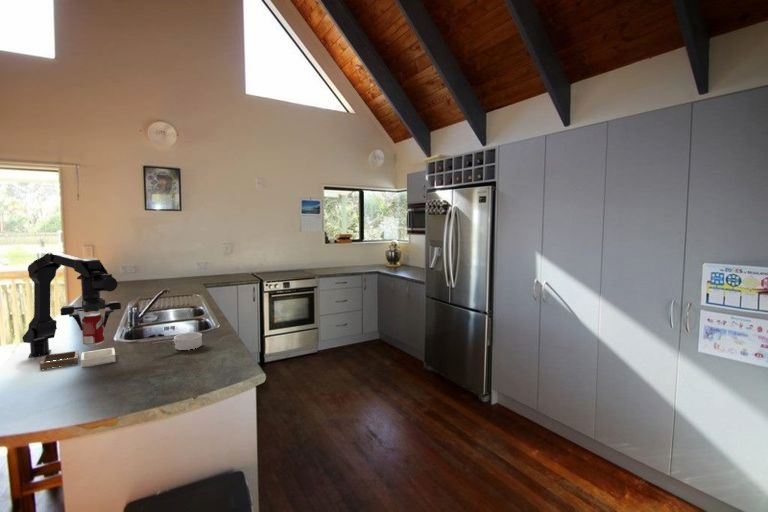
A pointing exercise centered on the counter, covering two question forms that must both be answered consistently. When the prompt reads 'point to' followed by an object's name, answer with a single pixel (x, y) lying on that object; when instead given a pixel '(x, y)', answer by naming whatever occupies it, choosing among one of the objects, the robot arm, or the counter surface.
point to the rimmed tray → (97, 357)
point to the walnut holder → (57, 357)
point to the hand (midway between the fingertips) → (93, 328)
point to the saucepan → (185, 341)
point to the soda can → (93, 329)
